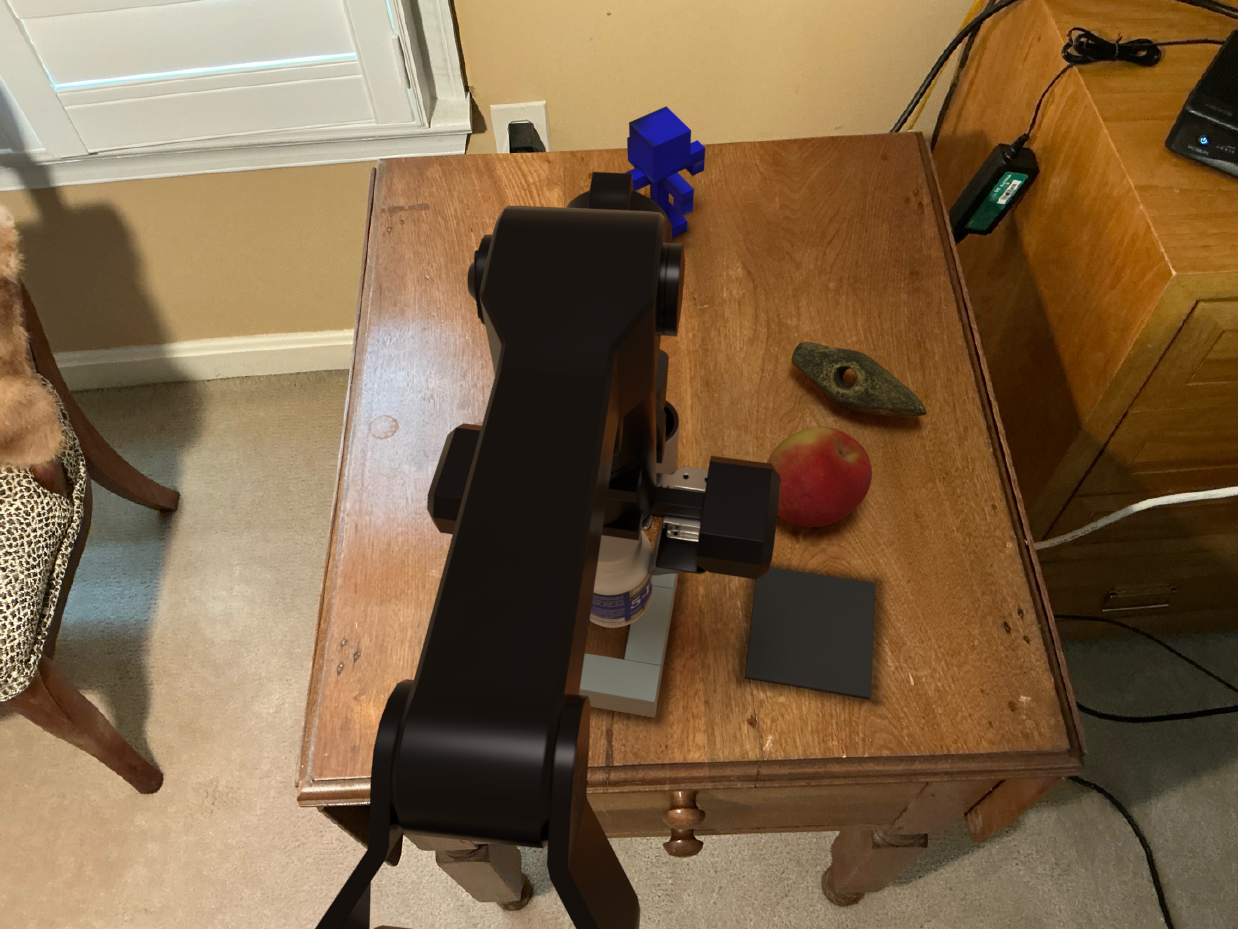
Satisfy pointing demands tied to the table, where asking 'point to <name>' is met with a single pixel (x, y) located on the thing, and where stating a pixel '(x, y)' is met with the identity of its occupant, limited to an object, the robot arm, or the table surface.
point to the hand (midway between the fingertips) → (611, 561)
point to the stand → (634, 659)
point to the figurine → (665, 162)
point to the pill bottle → (622, 581)
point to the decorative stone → (872, 381)
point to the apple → (820, 476)
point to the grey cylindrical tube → (670, 442)
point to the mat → (812, 632)
